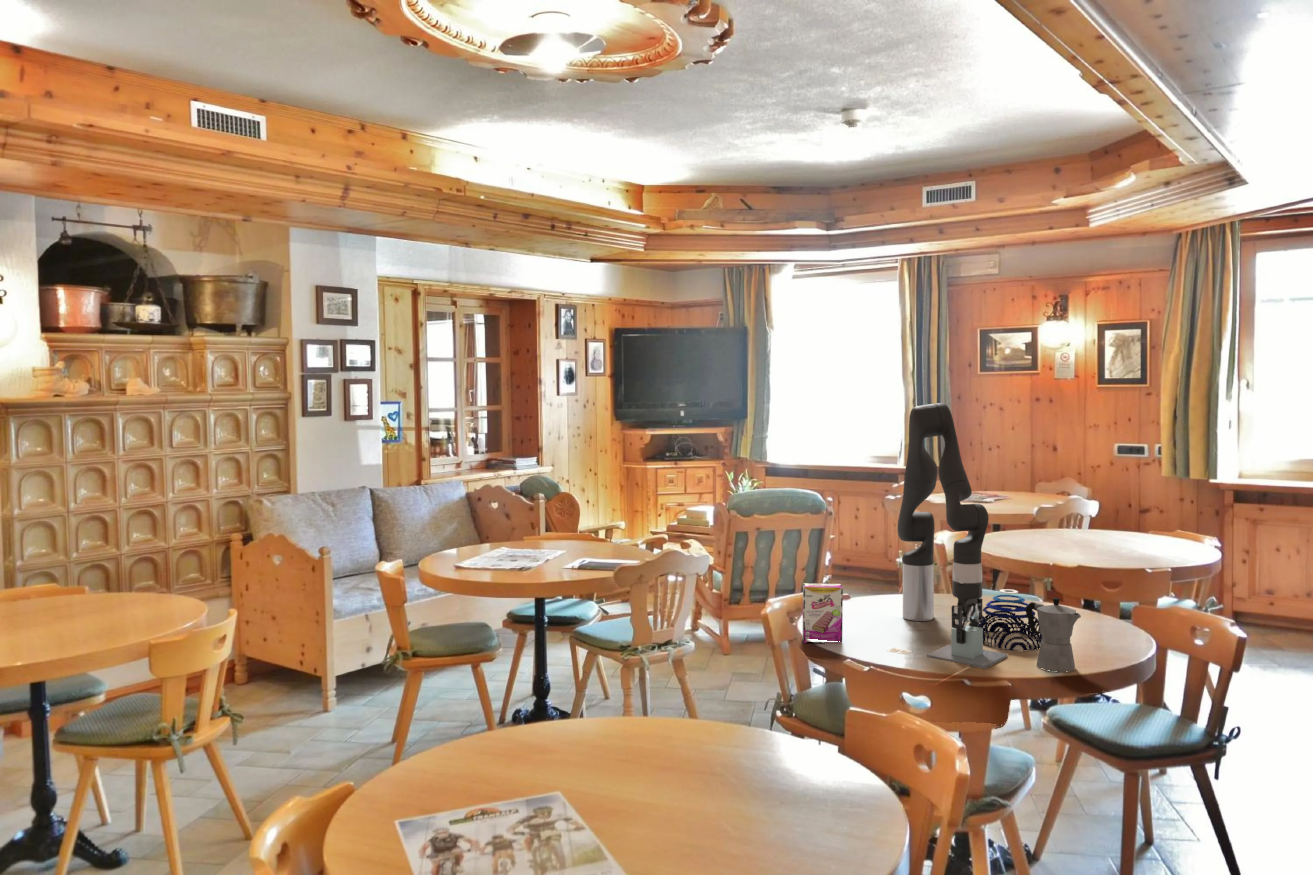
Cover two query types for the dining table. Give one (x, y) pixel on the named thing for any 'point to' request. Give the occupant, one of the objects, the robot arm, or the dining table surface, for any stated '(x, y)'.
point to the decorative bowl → (1008, 622)
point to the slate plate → (980, 662)
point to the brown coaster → (900, 651)
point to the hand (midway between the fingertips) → (967, 640)
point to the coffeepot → (1054, 635)
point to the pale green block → (968, 643)
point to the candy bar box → (822, 611)
